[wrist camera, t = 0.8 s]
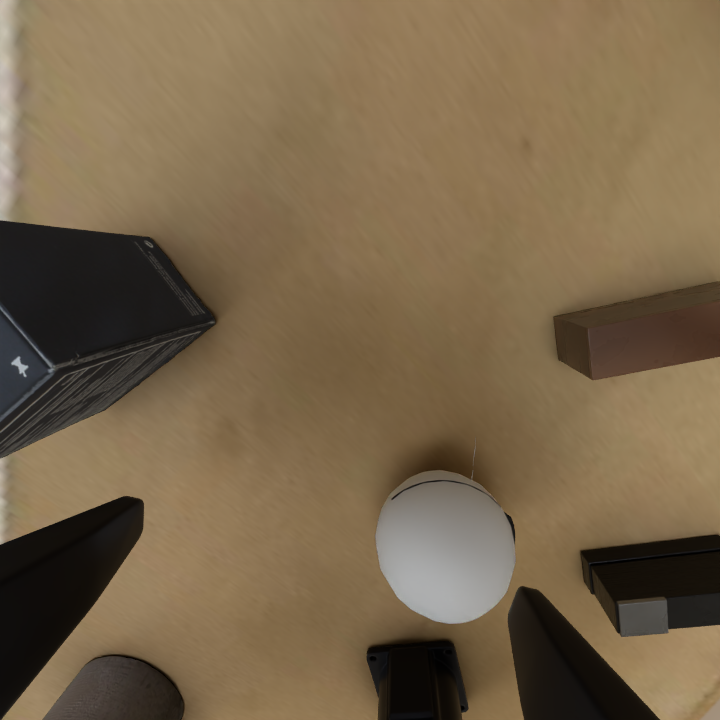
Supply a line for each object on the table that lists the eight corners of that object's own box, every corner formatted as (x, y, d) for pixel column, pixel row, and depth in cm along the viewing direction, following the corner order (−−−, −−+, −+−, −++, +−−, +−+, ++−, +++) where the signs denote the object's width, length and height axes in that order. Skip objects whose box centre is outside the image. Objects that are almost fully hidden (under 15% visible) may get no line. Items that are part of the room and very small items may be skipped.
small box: (147, 227, 20) (-99, 191, 10) (221, 321, 21) (64, 374, 11) (34, 332, 23) (-256, 388, 13) (106, 412, 24) (-109, 523, 14)
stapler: (719, 567, 22) (781, 625, 19) (583, 581, 24) (617, 639, 20) (719, 534, 22) (783, 587, 18) (580, 550, 23) (614, 604, 19)
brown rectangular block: (718, 328, 19) (791, 343, 15) (558, 360, 20) (592, 380, 17) (718, 281, 18) (793, 285, 15) (553, 316, 19) (587, 328, 16)
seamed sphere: (463, 561, 24) (492, 684, 17) (361, 520, 24) (347, 627, 17) (538, 438, 21) (610, 524, 14) (423, 391, 21) (437, 454, 14)
